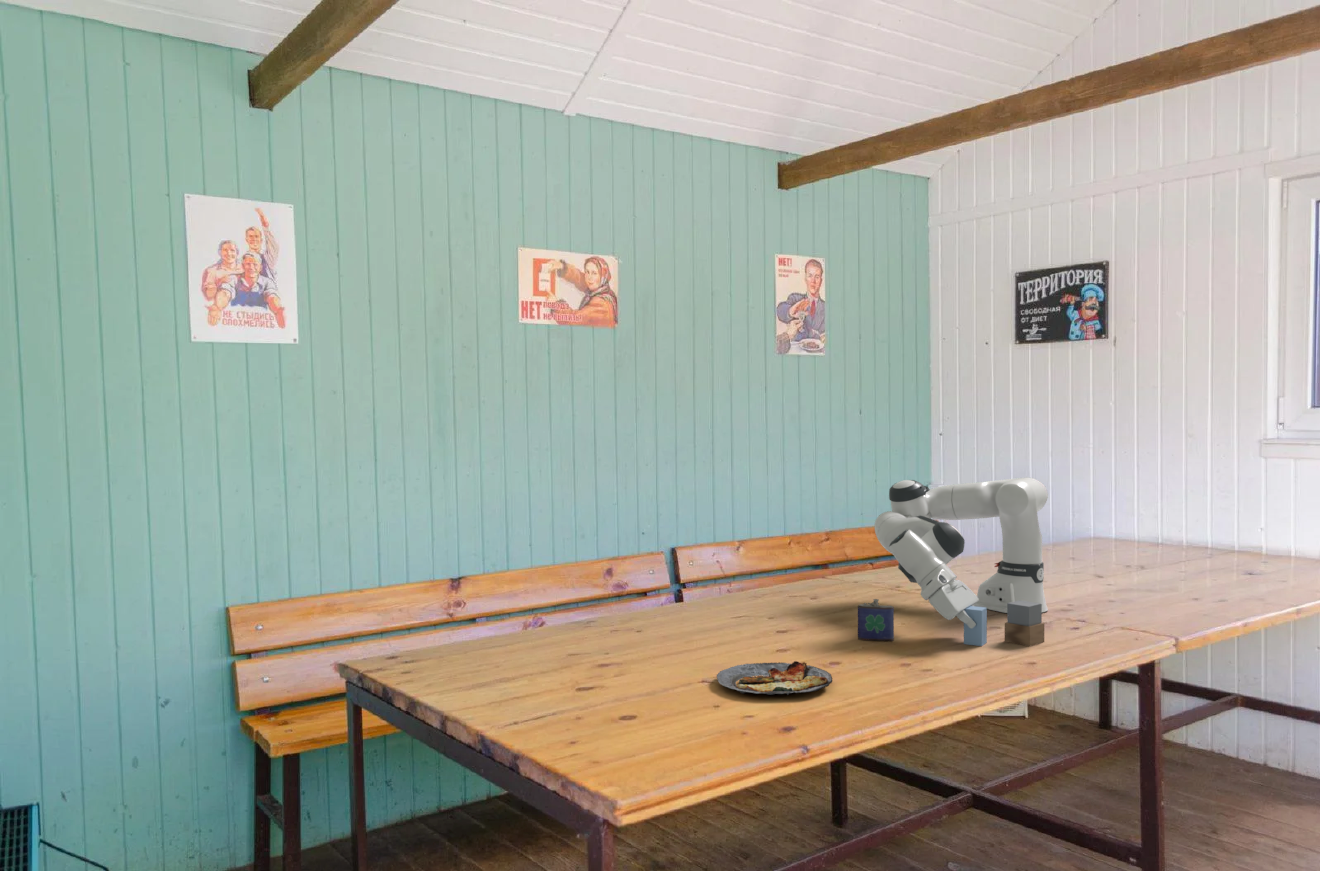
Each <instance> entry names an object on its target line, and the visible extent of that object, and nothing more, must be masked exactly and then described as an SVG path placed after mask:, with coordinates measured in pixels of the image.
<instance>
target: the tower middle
mask: <svg viewBox="0 0 1320 871" xmlns="http://www.w3.org/2000/svg"><path fill="white" fill-rule="evenodd" d="M1006 614H1007V616H1006V617H1007V618H1006V622H1007V623H1012V624H1018V625H1023V626H1033V625H1037V624H1040V623H1043V622H1042V619H1043V618H1042V614H1043V612H1042V604H1040V603H1034V602H1028V601H1021V600H1019V601H1015V602H1011V603H1007V613H1006Z"/></svg>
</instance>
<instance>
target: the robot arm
mask: <svg viewBox="0 0 1320 871" xmlns="http://www.w3.org/2000/svg"><path fill="white" fill-rule="evenodd" d="M1048 496H1049V493H1048V490H1047V487H1046V486H1045V485H1044V483H1042V482H1041V481H1039V480H1038V479H1037V478H1036V479H1035V478H1033V477H1018V478H1017V477H1015V478H1008V479H997V480H989V481H988V480H987V481H981V482H980V481H978V482H968V483H966V482H965V483H956V484H947V485H941V486H938V487H934V488H929V487H928V486H926V485H924V484H922V482H919V481H917V480H915V479H904V480H900V481H898V482H896V483H894V484H892V485H891V486H890V488H889V491H888V499H889V501H890V506H891V511H889V510H888V511H884V512H882V513H881V514H880V515H878V516H877V517H876V519H875V520H874V521H875V522H874V533H875V536H876V538H877V540H878V542H879V544H880V545H881V546H882V547H883V548H884V550H886V551H887V552H888V553H890V554H891V555H893V556H894V558H895V560H896V561H897V562H898V565H897V567H898V570H900V572H901V573H903V575H904V576H905V577H906V578H907V579H908V581H909V582H910V583H913V584H914V583H915V584H918V586H919V587H920V589H921V590H920V596H921V597H922V598H923V599H924V600H925V601H928V602H929V603H930V605H931V606H932V607H933V608H934V609H935V610H936V611H937V612H938V613H939V615H941V617H943V618H944V619H946V620H948V621H951V620H952V619H954V618H955V617H957V619H959V621H961V622H962V623H963V624H964V623H965V624H967V625H968V626H969V627H970V628H973V627H975V626H976V625H977V623H976V622H975V620H974V619H972V618H970V617H969V616H968V615H967V613H966V612H965V611H964V609H966V608H968V607H969V606H976V607H986V608H987V610H990V611H994V612H995V611H996V612H1000V613H1003V614H1007V603H1011V602H1015V601H1019V600H1021V601H1028V602H1034V603H1040V604H1042V613H1045V612H1048V611H1049V609H1048V605H1047V601H1046V597H1045V591H1044V580H1045V579H1044V577H1045V576H1044V575H1045V574H1044V572H1045V570H1044V569H1045V566H1044V562H1043V536H1042V535H1043V534H1042V533H1041V529H1040V525H1039V524H1040V523H1039V516H1038V512H1039V511H1041V510H1042V509H1043V507H1045V505H1046V503H1047V501H1048V498H1049V497H1048ZM998 517H999V522H1000V527H1001V537H1002V560H1000V561H998V562H996V563H994V568H997V570H996V573H994V574H993V575H991V576H990V577H988V578H987V579H985V580H984V581H983V582H981V583H980V584H979V586H978V590H977V593H975V592H974V591H973V590H972V589H971V588H970V587H969V586H968V585H967V584H966V583H964V581H962V580H960V579H957V577H958V576H957V574H956V573H955V572H954V571H953V570H952V569H951V568H950V567H949V566H948V564H949V563H950V562H951V561H953V559H955V558H956V557H958V556H959V555H961V554H963V553H964V551H965V543H966V542H965V539H964V537H963V535H962V533H961V532H960V530H958V529H957V528H956V527H955V526H953V525H951V524H950V523H948V522H944V521H937V520H945V521H962V520H977V519H988V518H989V519H990V518H998Z"/></svg>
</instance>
